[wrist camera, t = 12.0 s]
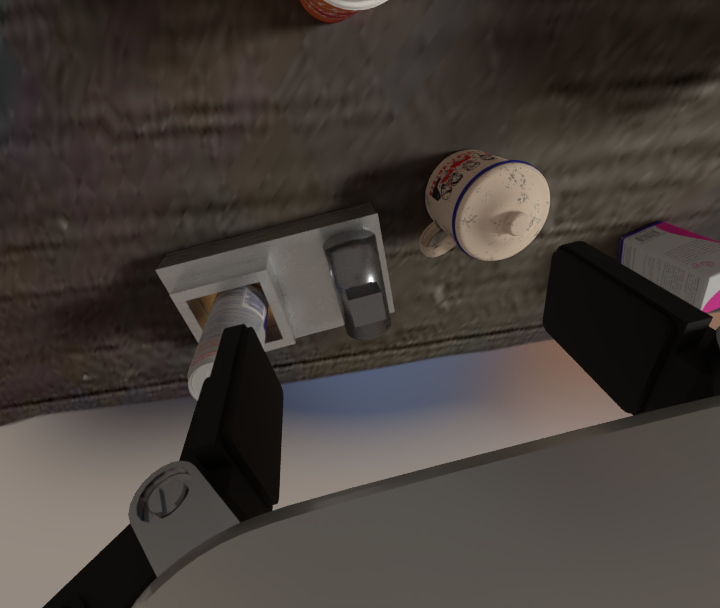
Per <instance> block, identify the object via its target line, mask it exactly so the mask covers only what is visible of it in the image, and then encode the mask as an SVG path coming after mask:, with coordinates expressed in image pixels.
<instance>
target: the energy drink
mask: <svg viewBox="0 0 720 608" xmlns="http://www.w3.org/2000/svg"><path fill="white" fill-rule="evenodd" d="M267 316H268V301H267V298H266V297H265V295H264V294H263V293H262V292H261V291H260V290H259V289H258V288H256V287H254V286H252V285H245V286H241V287H237V288H233V289H229V290H226V291H222V292H218V294H217V295H216V297H215V300H214V303H213V305H212V308H211V311H210V313H209V316H208V319H207V322H206V324H205V327H204V330H203V332H202V335H201V338H200V341H199V343H198V346H197V349H196V351H195V354H194V357H193V359H192V362H191V365H190V368H189V371H188V389H189V392H190V394H191V395H192V397H193V398H194V399H195V400H197V401H198V398H199V395H200V392H201V388H202V385H203V382H204V380H205V379H206V378H207V377H210V374H211V371H212V368H213V364H214V361H215V357H216V354H217V350H218V347H219V343H220V340H221V336H222V333H223V330H224V329H225V328H227V327H231V326H236V325H240V324H245V325H246V326H247V327H253V328H254V330H255V332H256V334H257V336H258V338H259V340H260V343H261V345H262V347H263V349H264V345H265V335H266V326H267Z"/></svg>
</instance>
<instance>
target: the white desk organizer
mask: <svg viewBox="0 0 720 608" xmlns="http://www.w3.org/2000/svg"><path fill="white" fill-rule="evenodd" d="M155 271H156V272H157V274H158V276H159V277H160V279H161V281H162V282H163V284H164V286H165V287H166V289H167V291H168V292H169V295H170V297H171V298H172V300H173V302H174V303H175V305H176V307H177V308H178V310H179V312H180V313H181V315H182V317H183V318H184V320H185V322H186V323H187V325H188V327H189V328H190V330H191V332H192V333H193V335H194V337H195V338H196V340H197V342H198V343H199V341H200V338H201V335H202V332H203V330H204V327H205V324H206V322H207V319H208V316H209V313H210V311H211V308H212V305H213V303H214V300H215V297H216V295H217V294H218V292H222V291H226V290H229V289H233V288H237V287H241V286H245V285H252V286H254V287H256V288H258V289H259V290H260V291H261V292H262V293H263V294H264V295H265V297H266V298H267V301H268V316H267V326H266V335H265V345H264V351H265V352H266V351H269V350H273V349H277V348H281V347H284V346H288V345H292V344H295V338H298V337H302V336H306V335H309V334H313V333H317V332H321V331H324V330H328V329H332V328H336V327H339V326H343V325H345V329H346V332H347V334H348V335H349V336H350V337H352V338H354V339H357V340H370V339H374V338H377V337H379V336H381V335H383V334H384V333H386V332H387V331H388V329H389V328H390V326H391V318H390V313H392V312H395V311H394V305H393V299H392V293H391V288H390V282H389V276H388V270H387V264H386V259H385V253H384V247H383V241H382V235H381V230H380V224H379V218H378V213H377V212H376V210H375V209H374V207H373V206H372V205H371V203H370V202H368V203H364V204H360V205H356V206H352V207H349V208H345V209H341V210H337V211H333V212H329V213H325V214H321V215H317V216H313V217H309V218H305V219H301V220H297V221H293V222H289V223H285V224H281V225H277V226H273V227H270V228H266V229H262V230H258V231H254V232H250V233H246V234H242V235H238V236H234V237H230V238H226V239H222V240H218V241H214V242H210V243H206V244H202V245H198V246H194V247H191V248H187V249H183V250H179V251H175V252H171V253H167V255H166V256H165V257H164V259H163V260H162V261H161V263H160V264H159V265H158V267H157V268H156V269H155Z"/></svg>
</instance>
